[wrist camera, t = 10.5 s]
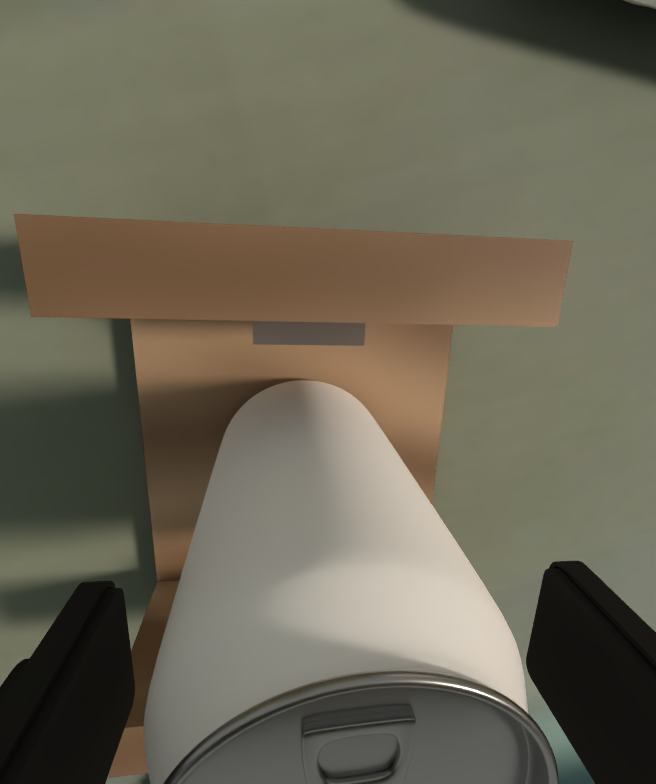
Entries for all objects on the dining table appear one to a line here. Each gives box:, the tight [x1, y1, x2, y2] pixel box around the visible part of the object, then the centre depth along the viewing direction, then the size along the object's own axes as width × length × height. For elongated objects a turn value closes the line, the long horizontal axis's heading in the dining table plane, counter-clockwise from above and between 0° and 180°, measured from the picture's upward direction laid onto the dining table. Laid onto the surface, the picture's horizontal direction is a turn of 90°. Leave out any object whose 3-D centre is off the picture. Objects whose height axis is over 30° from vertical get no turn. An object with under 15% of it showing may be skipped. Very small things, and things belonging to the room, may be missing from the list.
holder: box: [14, 214, 573, 778], centre depth 14 cm, size 16×12×7 cm
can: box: [144, 380, 558, 784], centre depth 11 cm, size 6×6×12 cm
